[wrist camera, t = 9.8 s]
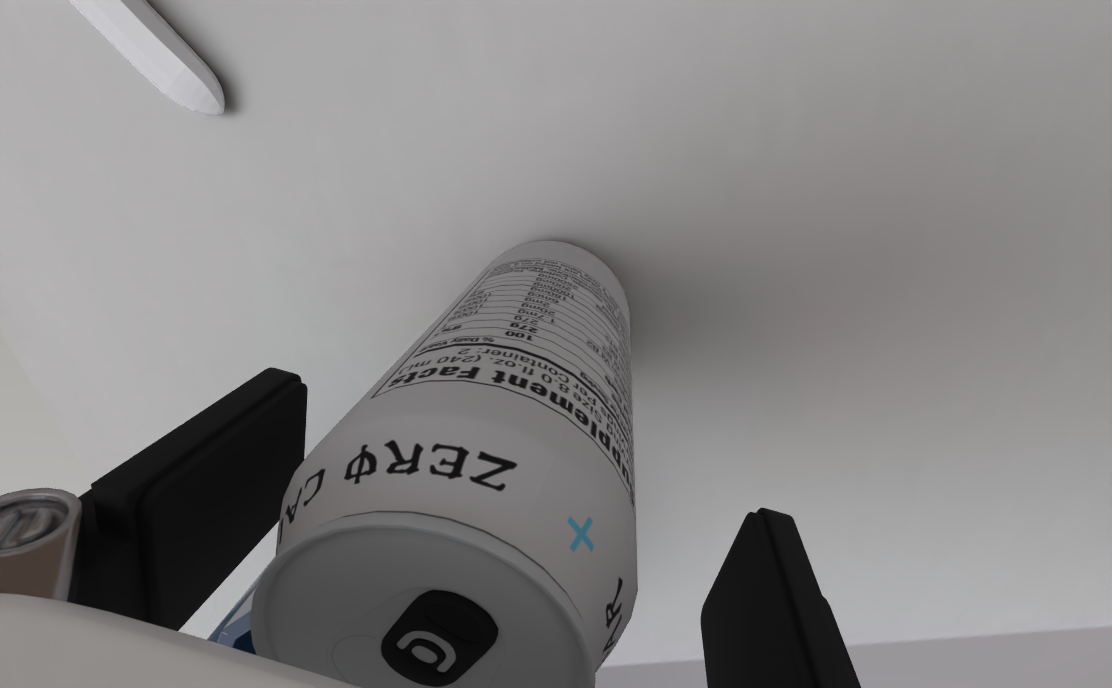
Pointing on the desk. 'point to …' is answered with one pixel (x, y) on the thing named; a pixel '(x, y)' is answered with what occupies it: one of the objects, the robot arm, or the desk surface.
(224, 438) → the robot arm
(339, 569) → the energy drink can
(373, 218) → the desk surface
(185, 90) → the pen
